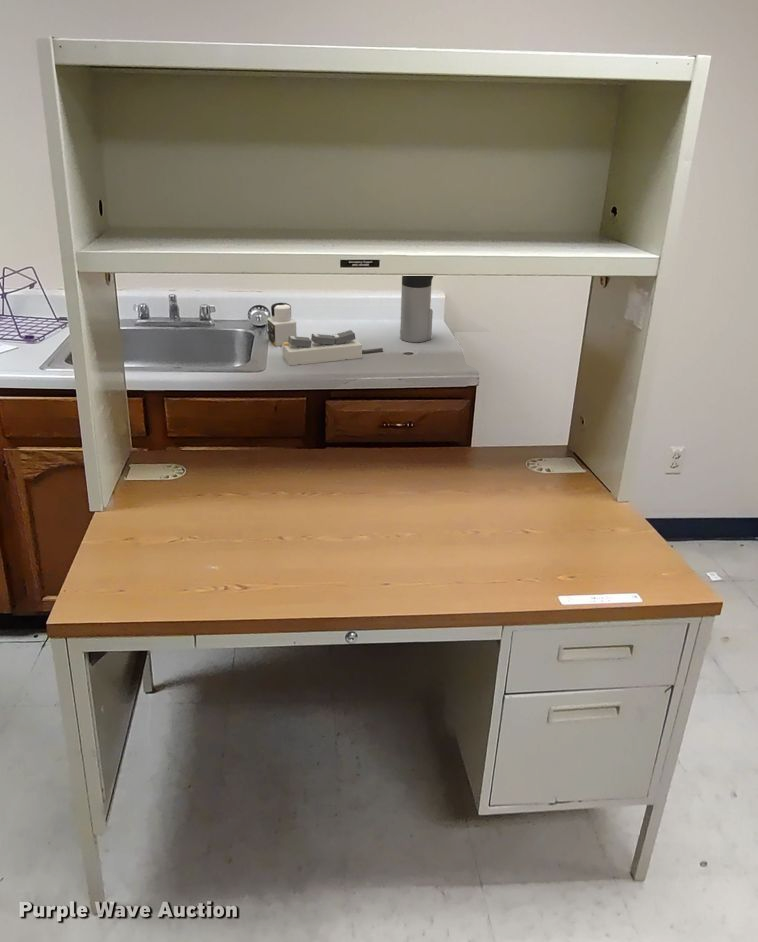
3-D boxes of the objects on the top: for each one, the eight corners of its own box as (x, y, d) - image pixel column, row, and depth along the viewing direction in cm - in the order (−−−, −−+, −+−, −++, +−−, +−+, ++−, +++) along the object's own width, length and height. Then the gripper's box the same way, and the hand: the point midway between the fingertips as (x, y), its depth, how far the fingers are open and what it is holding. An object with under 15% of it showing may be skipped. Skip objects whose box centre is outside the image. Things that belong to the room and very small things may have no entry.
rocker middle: (330, 341, 224) (331, 334, 223) (333, 344, 221) (334, 338, 220) (311, 339, 222) (312, 333, 221) (314, 343, 219) (315, 336, 218)
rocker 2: (351, 335, 226) (350, 329, 225) (355, 339, 223) (354, 332, 222) (333, 340, 224) (331, 334, 223) (336, 344, 222) (335, 338, 221)
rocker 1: (307, 343, 222) (308, 336, 221) (310, 346, 219) (311, 340, 218) (287, 341, 220) (288, 335, 219) (290, 345, 217) (291, 338, 216)
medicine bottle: (268, 340, 238) (266, 302, 232) (289, 337, 240) (288, 300, 235) (275, 346, 232) (273, 308, 226) (297, 344, 235) (295, 305, 229)
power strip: (377, 347, 233) (377, 332, 231) (386, 355, 226) (387, 340, 224) (282, 356, 223) (282, 341, 221) (289, 365, 217) (289, 350, 215)
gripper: (330, 204, 208) (332, 263, 215) (279, 203, 209) (283, 262, 217) (325, 208, 201) (328, 269, 209) (273, 207, 202) (277, 268, 210)
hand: (305, 266), depth 213 cm, fingers open, 8 cm apart
